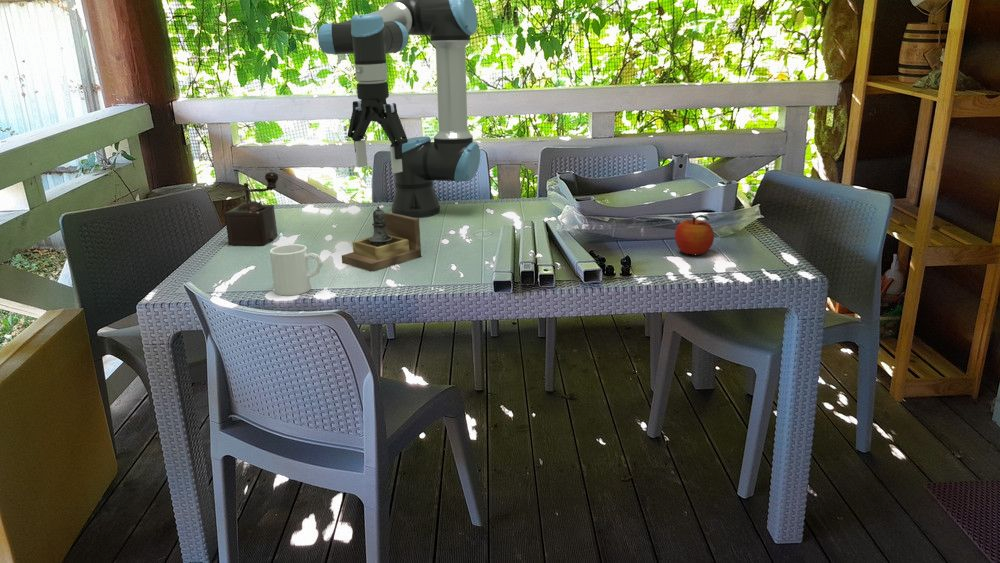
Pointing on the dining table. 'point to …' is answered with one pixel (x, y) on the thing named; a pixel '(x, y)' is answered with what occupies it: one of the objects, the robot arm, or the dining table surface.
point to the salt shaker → (379, 229)
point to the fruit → (694, 236)
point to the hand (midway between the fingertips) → (379, 169)
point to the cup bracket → (388, 245)
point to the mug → (292, 269)
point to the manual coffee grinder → (252, 219)
